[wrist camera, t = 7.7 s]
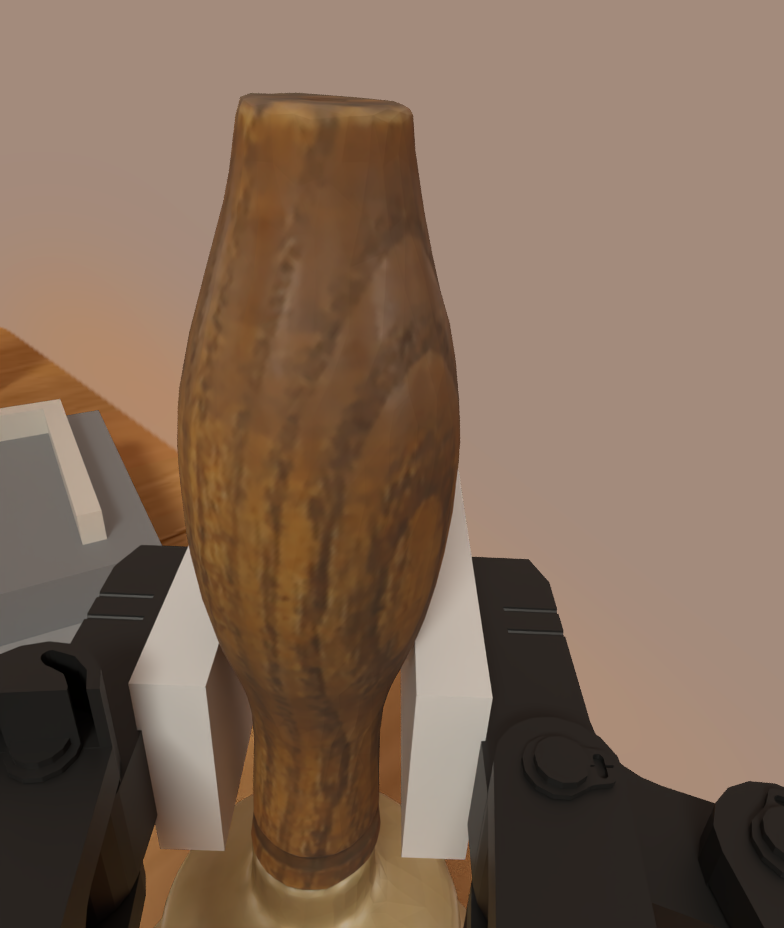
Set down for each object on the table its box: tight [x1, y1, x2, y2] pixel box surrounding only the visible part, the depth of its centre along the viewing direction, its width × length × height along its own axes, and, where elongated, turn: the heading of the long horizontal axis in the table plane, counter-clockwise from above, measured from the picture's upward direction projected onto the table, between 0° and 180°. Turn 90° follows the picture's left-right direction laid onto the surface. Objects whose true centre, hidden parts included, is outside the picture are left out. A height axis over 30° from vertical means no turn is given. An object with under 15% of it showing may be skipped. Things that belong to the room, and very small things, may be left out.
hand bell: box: [154, 93, 467, 928], centre depth 9 cm, size 8×8×16 cm
